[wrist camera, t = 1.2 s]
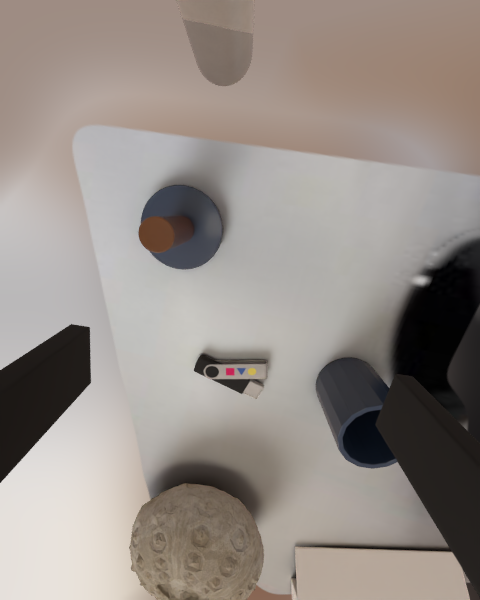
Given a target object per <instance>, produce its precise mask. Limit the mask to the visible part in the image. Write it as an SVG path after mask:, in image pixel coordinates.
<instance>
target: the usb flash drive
mask: <svg viewBox="0 0 480 600" xmlns="http://www.w3.org/2000/svg"><path fill="white" fill-rule="evenodd" d="M267 364H268V362H267V361H266V360H213V359H211V358H209V357H207V356H205V355H201V356H200V357H199V359H198V361H197V363H196V365H195V368H194V371H195V372H197V373H199V374H201V375H203V376H205V377H207V378H209V379H212V380H214V381H216V382H218V383H220V384H222V385H224V386H227V387H229V388H231V389H233V390H235V391H237V392H239V393H244V394H247V395H249V396H251V397H253V398H255V399H257V397H258V396H259V394H260V393H261V391H262V390H263V388H264V385H263V384H261V383H259V382H257V381H254V380H252V379H266V378H267Z"/></svg>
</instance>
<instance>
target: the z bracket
mask: <svg viewBox="0 0 480 600" xmlns="http://www.w3.org/2000/svg"><path fill="white" fill-rule="evenodd" d="M295 561H296V579H291V587H292V600H470V598H469V595H468V591H467V586H466V583H465V579H464V575H463V571H462V567H461V566H460V564H459V562H458V561H457V559H456V557H455V556H454V554H453V552H448V551H417V550H386V549H355V548H324V547H295Z"/></svg>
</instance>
